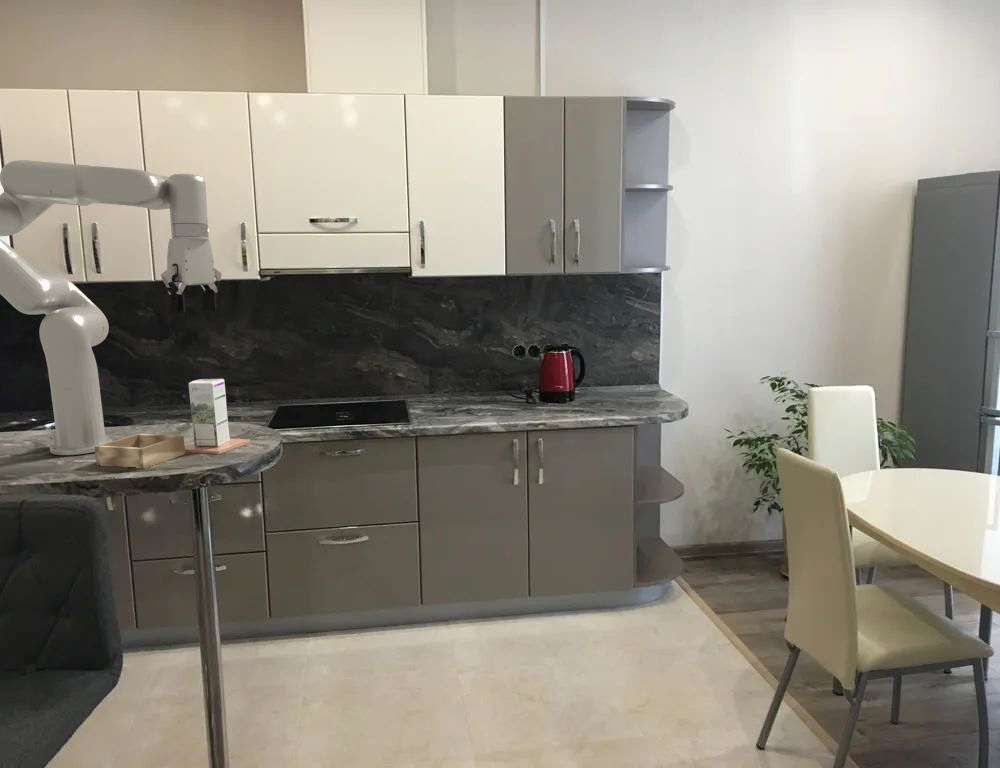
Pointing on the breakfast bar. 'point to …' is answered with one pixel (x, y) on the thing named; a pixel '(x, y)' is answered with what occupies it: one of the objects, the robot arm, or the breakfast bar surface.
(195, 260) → the robot arm
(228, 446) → the terracotta tile
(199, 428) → the syrup box
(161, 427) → the breakfast bar surface
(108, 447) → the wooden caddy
